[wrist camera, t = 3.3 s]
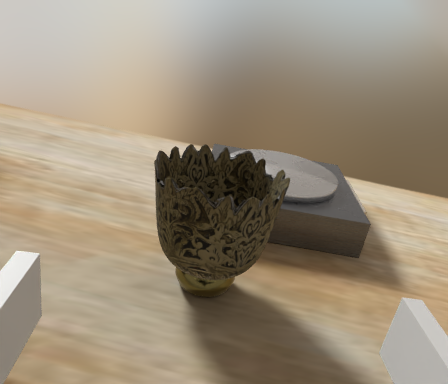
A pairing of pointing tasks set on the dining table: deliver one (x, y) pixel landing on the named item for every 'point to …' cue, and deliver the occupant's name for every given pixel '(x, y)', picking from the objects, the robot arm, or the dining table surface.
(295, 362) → the dining table surface
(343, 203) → the kitchen scale
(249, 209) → the cup
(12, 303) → the robot arm
